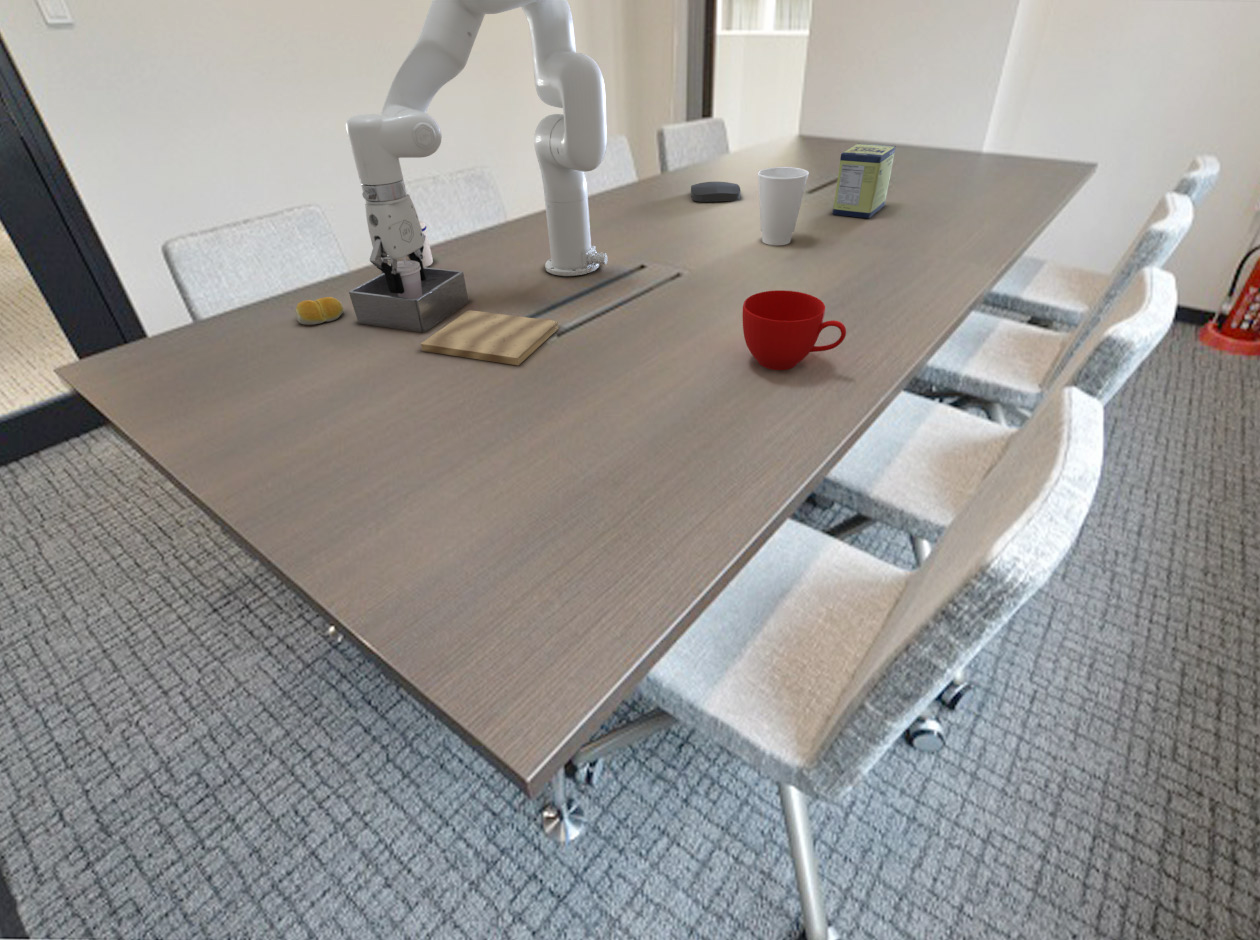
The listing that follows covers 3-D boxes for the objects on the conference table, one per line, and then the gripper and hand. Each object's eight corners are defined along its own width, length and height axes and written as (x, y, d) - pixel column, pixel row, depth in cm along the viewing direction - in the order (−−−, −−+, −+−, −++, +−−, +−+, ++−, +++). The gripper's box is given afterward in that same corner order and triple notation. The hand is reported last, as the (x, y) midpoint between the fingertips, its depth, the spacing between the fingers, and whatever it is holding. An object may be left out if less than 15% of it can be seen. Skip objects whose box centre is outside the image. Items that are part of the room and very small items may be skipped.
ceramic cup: (825, 392, 99) (835, 332, 93) (726, 368, 107) (729, 312, 101) (850, 358, 108) (860, 302, 102) (756, 339, 116) (761, 285, 110)
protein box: (885, 205, 182) (896, 145, 173) (869, 219, 172) (881, 156, 163) (848, 201, 187) (857, 142, 178) (831, 214, 177) (840, 153, 167)
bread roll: (348, 318, 130) (342, 299, 128) (302, 329, 127) (295, 310, 124) (339, 305, 136) (333, 287, 134) (294, 316, 132) (288, 297, 130)
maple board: (558, 328, 122) (558, 321, 122) (518, 365, 111) (517, 358, 110) (469, 316, 129) (468, 309, 128) (422, 351, 117) (420, 343, 116)
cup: (747, 246, 158) (752, 176, 148) (758, 232, 166) (763, 165, 157) (795, 250, 154) (804, 179, 144) (804, 235, 163) (812, 167, 153)
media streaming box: (741, 201, 191) (742, 191, 189) (692, 203, 191) (693, 193, 190) (735, 189, 203) (736, 179, 201) (689, 191, 203) (690, 181, 201)
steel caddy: (469, 301, 135) (464, 271, 131) (424, 332, 123) (416, 300, 119) (406, 293, 140) (399, 264, 136) (357, 323, 128) (347, 291, 124)
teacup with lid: (441, 260, 157) (431, 211, 150) (417, 272, 151) (405, 221, 144) (403, 255, 162) (391, 207, 155) (378, 267, 155) (364, 217, 148)
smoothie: (422, 319, 129) (404, 249, 120) (393, 317, 130) (374, 248, 121) (436, 306, 134) (420, 238, 125) (408, 305, 135) (390, 237, 126)
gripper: (370, 204, 110) (396, 304, 121) (429, 181, 123) (448, 273, 134) (335, 202, 112) (364, 300, 123) (397, 179, 125) (418, 270, 136)
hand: (408, 285), depth 128 cm, fingers closed on smoothie, 6 cm apart
